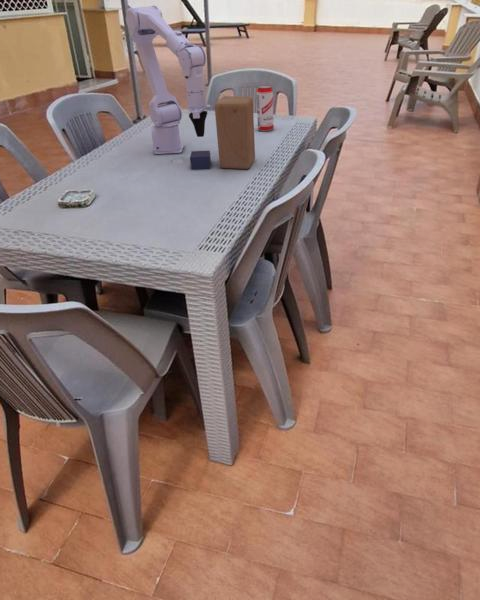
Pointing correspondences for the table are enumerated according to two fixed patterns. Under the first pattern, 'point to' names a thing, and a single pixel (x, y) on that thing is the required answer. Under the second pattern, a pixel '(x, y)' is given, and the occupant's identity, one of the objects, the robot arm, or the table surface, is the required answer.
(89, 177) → the table surface
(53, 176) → the table surface
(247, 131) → the wooden block
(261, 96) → the beer can
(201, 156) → the navy block
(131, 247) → the table surface
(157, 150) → the robot arm
